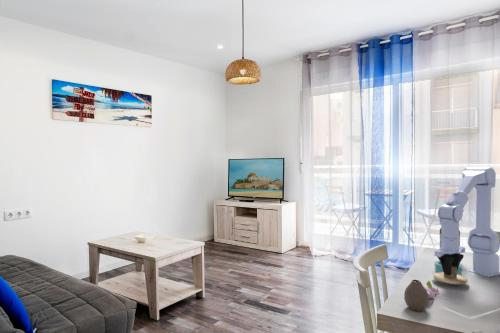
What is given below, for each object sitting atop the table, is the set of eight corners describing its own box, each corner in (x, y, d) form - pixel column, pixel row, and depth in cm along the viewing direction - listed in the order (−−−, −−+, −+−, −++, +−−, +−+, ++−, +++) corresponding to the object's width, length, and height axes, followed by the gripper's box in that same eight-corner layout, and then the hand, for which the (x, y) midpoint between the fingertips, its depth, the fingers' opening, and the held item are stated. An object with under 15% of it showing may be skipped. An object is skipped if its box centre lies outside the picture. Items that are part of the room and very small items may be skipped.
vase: (431, 314, 103) (431, 285, 103) (407, 312, 104) (407, 283, 104) (424, 305, 110) (424, 277, 110) (401, 303, 111) (401, 276, 111)
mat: (445, 278, 135) (445, 276, 135) (476, 287, 125) (476, 286, 125) (424, 282, 130) (424, 281, 130) (455, 293, 119) (455, 291, 119)
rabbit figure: (424, 294, 123) (409, 299, 112) (425, 277, 123) (410, 280, 113) (443, 298, 118) (429, 304, 108) (444, 281, 119) (430, 285, 109)
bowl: (444, 270, 145) (444, 259, 145) (465, 276, 137) (465, 265, 137) (430, 273, 141) (430, 262, 141) (450, 280, 133) (450, 268, 133)
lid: (446, 272, 135) (446, 260, 135) (474, 281, 125) (474, 268, 125) (426, 276, 130) (426, 264, 130) (454, 286, 120) (454, 272, 120)
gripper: (447, 241, 121) (447, 279, 121) (473, 237, 127) (473, 273, 127) (429, 237, 127) (429, 274, 127) (455, 233, 133) (455, 268, 133)
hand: (450, 273), depth 127 cm, fingers closed on lid, 3 cm apart
